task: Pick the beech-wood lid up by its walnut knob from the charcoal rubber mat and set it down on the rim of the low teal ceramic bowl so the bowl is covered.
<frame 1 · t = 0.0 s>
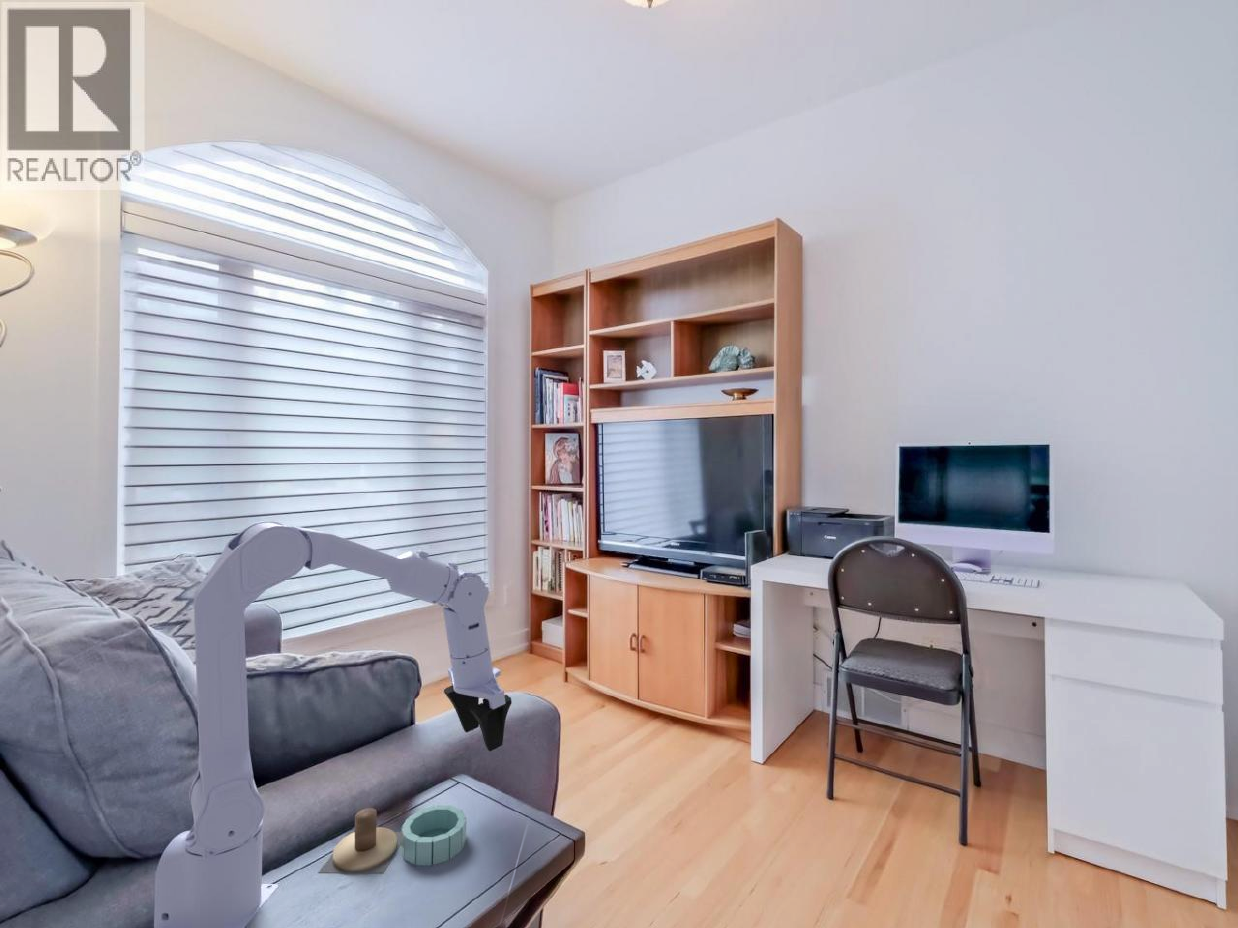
hand: (483, 737, 84), 10 cm above the table, tool pointing down, fingers open, 7 cm apart
lid: (365, 851, 74), resting on mat
mat: (365, 854, 74), on the table
bowl: (434, 847, 75), on the table
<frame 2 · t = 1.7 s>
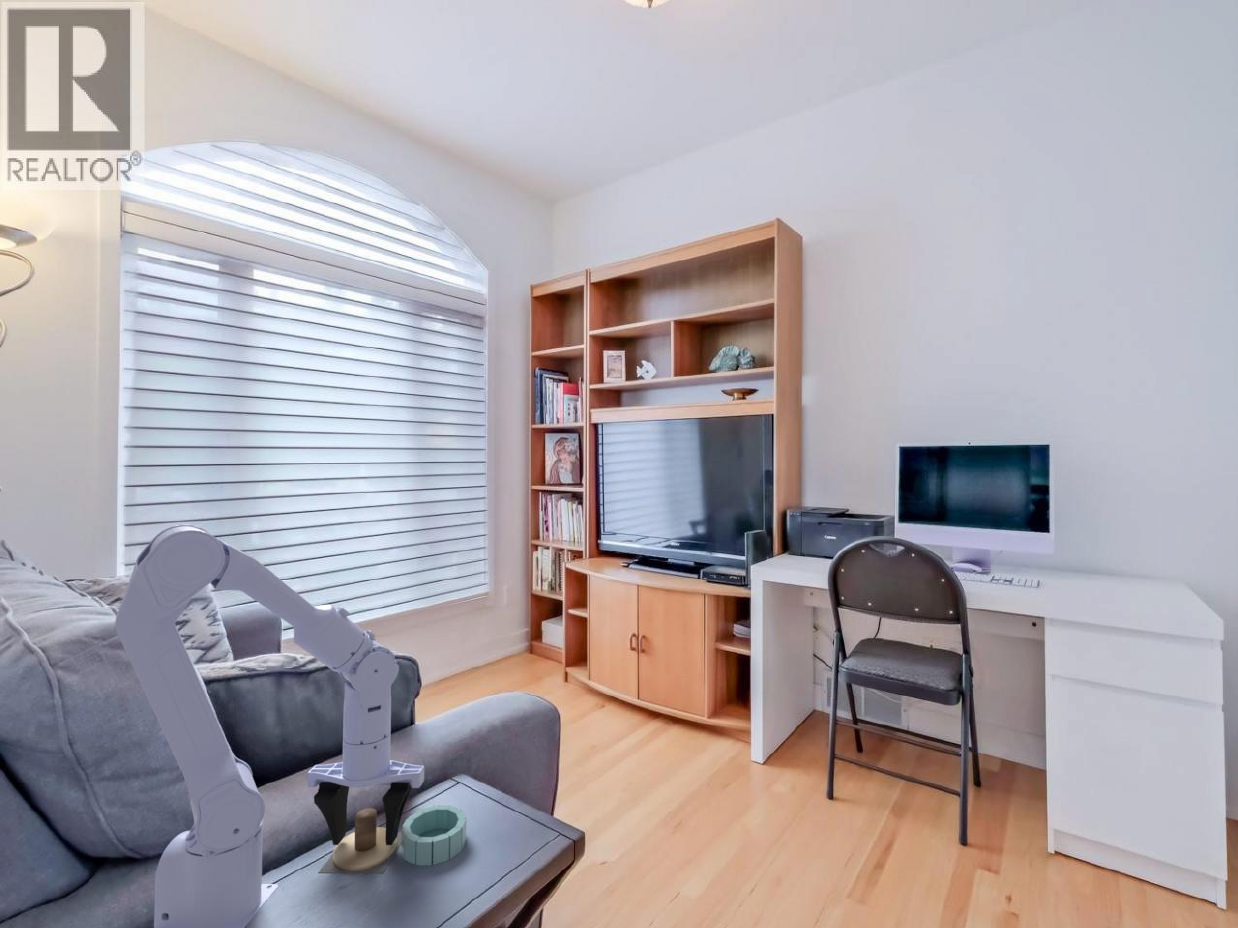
hand: (365, 840, 74), 2 cm above the table, tool pointing down, fingers open, 6 cm apart
nothing on the table moved.
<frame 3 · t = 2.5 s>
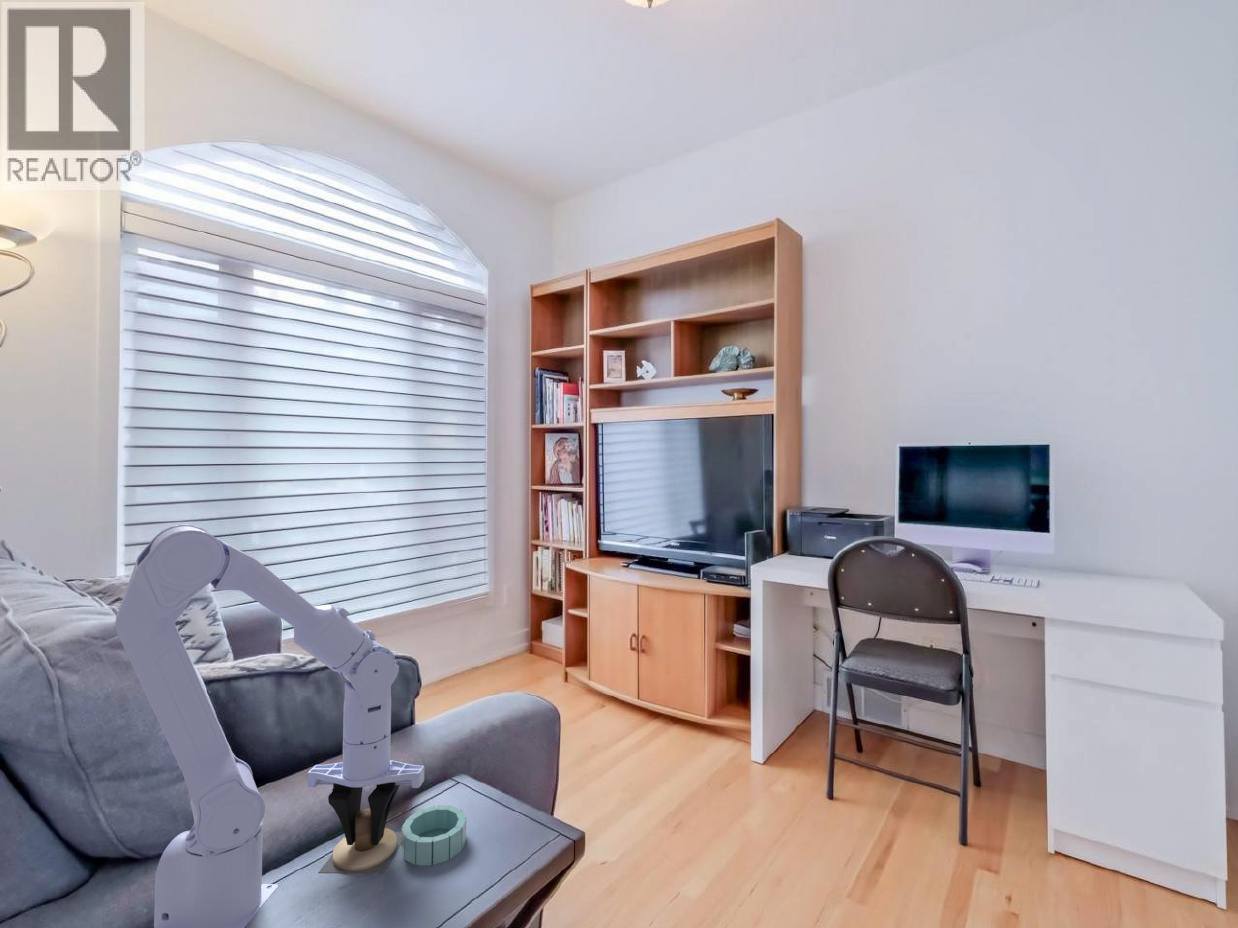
hand: (365, 840, 74), 2 cm above the table, tool pointing down, fingers closed on lid, 3 cm apart
lid: (365, 851, 74), resting on mat, touching gripper
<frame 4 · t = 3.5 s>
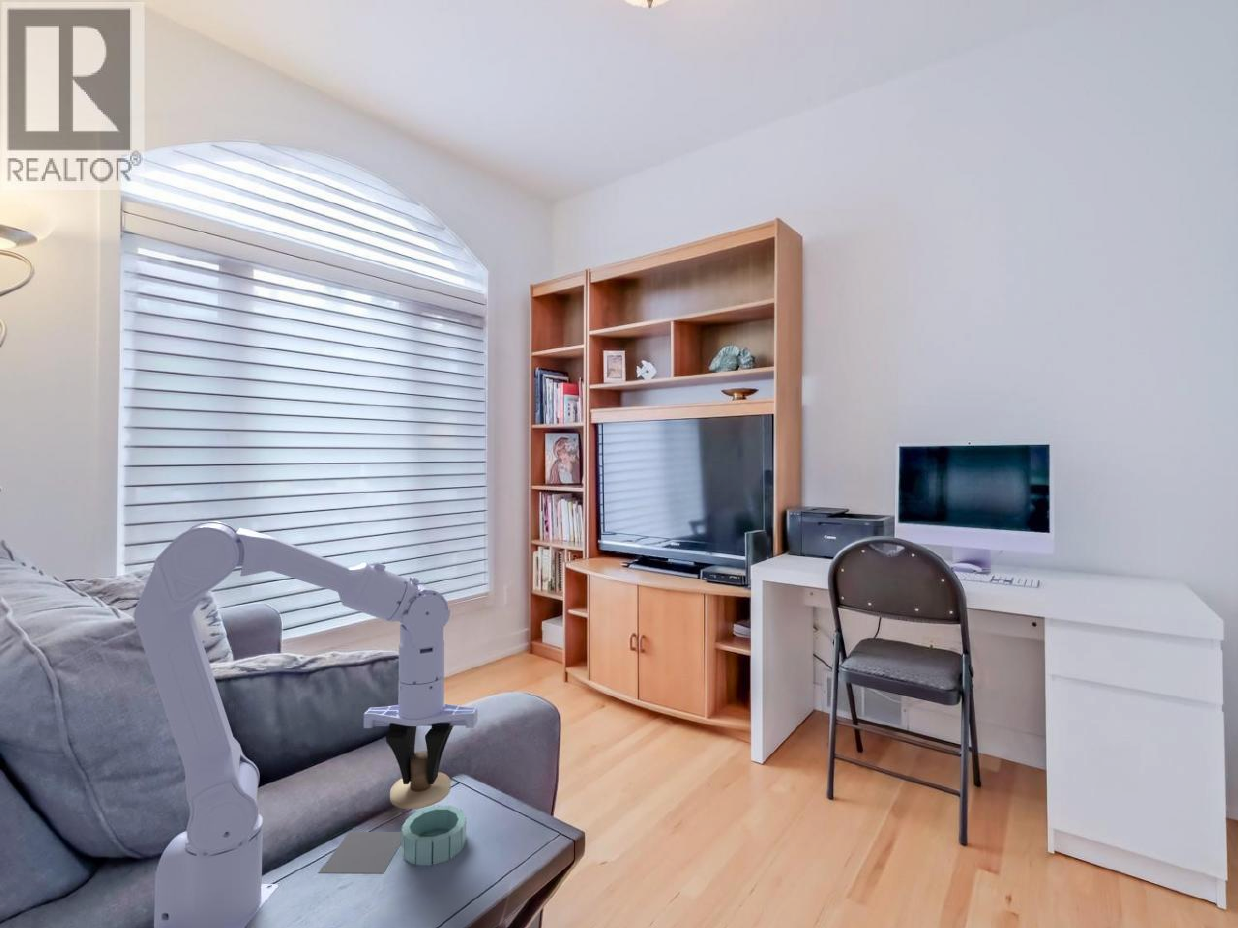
hand: (420, 779, 75), 9 cm above the table, tool pointing down, fingers closed on lid, 3 cm apart
lid: (420, 792, 75), point 7 cm above the table, touching gripper
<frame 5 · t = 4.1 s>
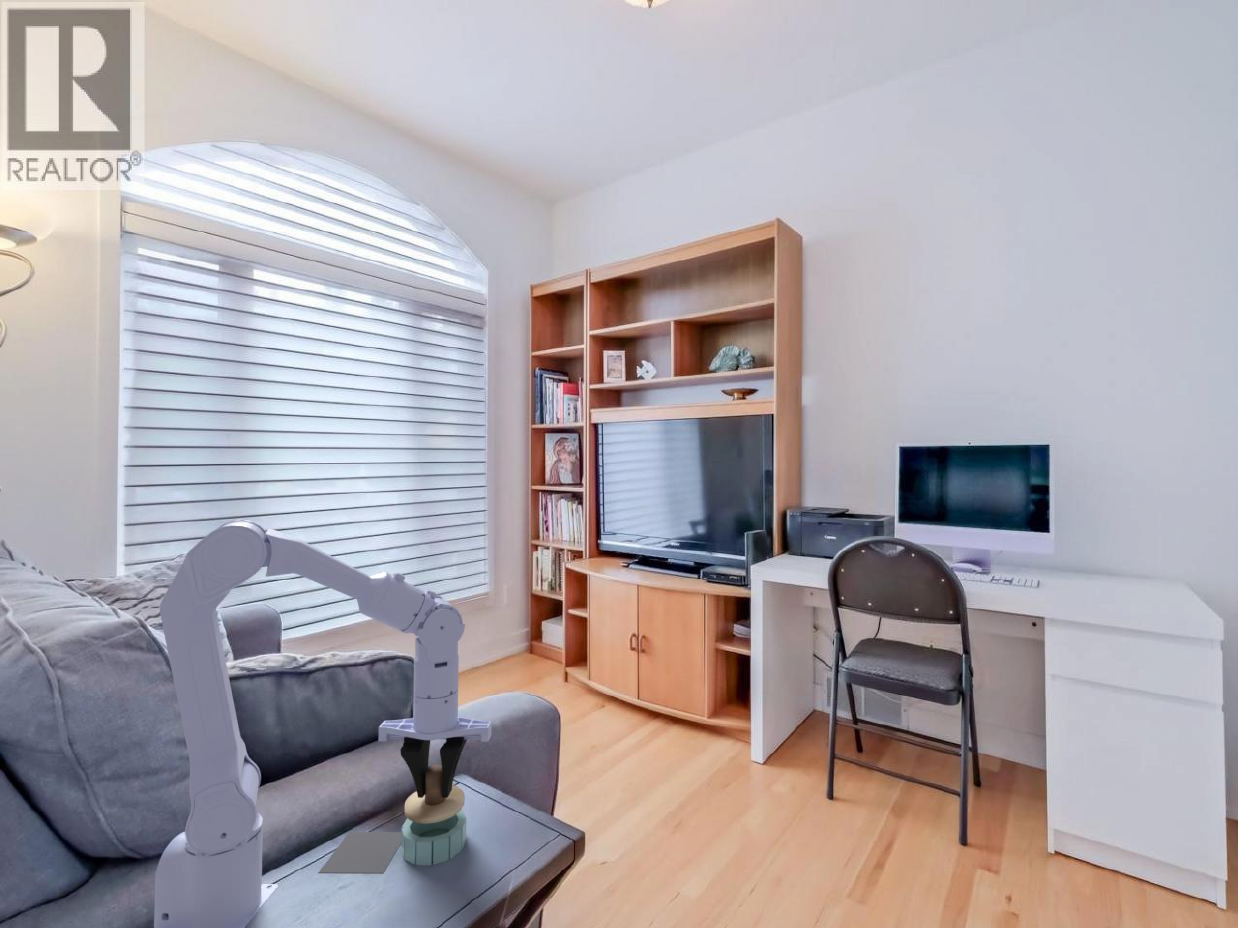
hand: (435, 793, 75), 7 cm above the table, tool pointing down, fingers closed on lid, 3 cm apart
lid: (435, 805, 75), point 5 cm above the table, touching gripper
when the fingers open (6 cm above the table, at t = 4.6 s): lid stays where it is, resting on bowl.
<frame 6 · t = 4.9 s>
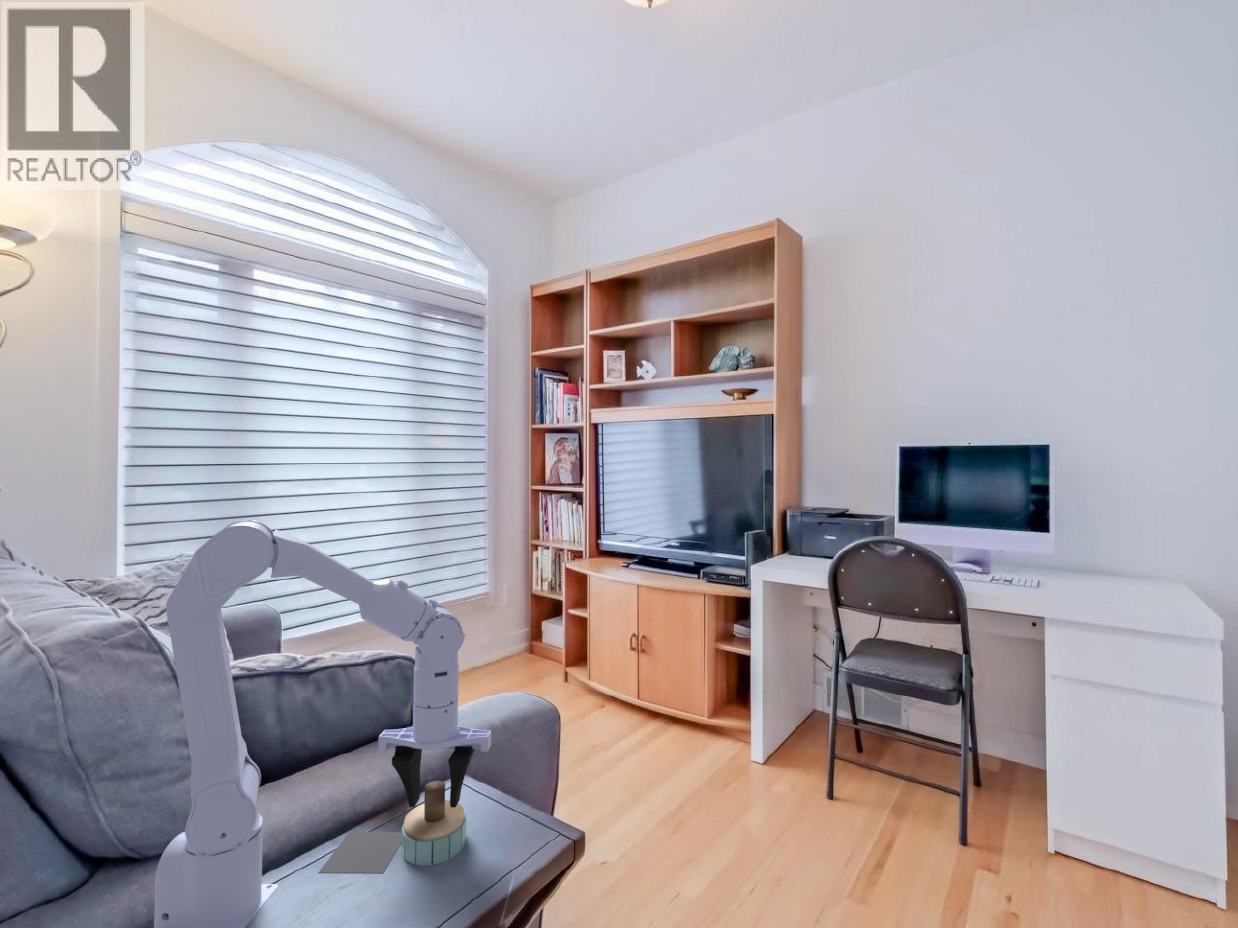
hand: (434, 802, 75), 6 cm above the table, tool pointing down, fingers open, 5 cm apart
lid: (434, 822, 75), point 3 cm above the table, touching bowl
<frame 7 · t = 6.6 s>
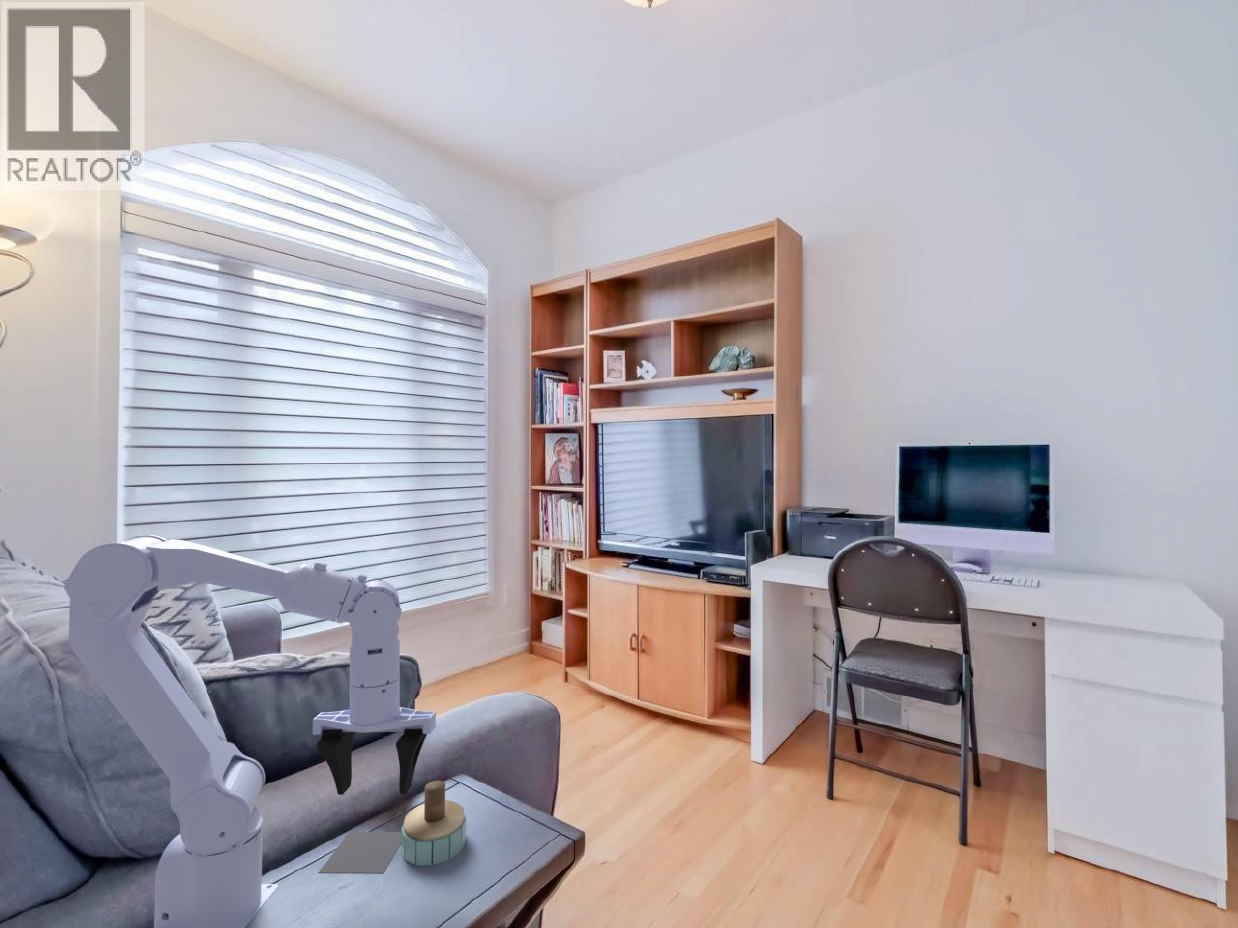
hand: (375, 789, 70), 10 cm above the table, tool pointing down, fingers open, 7 cm apart
nothing on the table moved.
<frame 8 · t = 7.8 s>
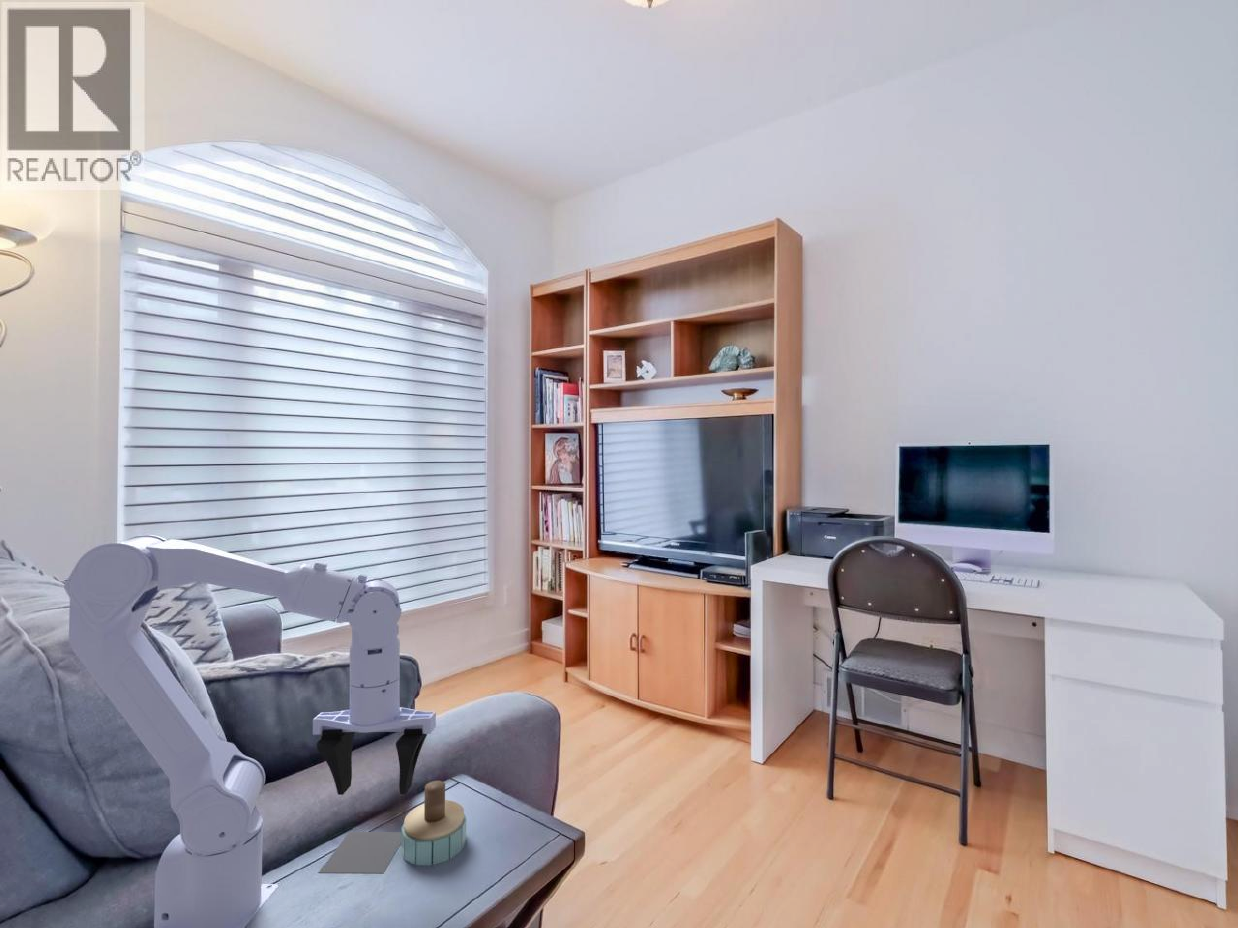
hand: (375, 789, 70), 10 cm above the table, tool pointing down, fingers open, 7 cm apart
nothing on the table moved.
at the end: lid 0.1 cm off-centre on the bowl, point 3.2 cm above the bowl's base; lid tilted 0°; the gripper is holding nothing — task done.
